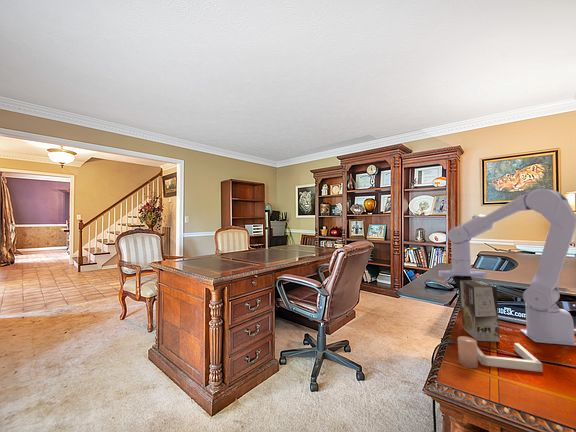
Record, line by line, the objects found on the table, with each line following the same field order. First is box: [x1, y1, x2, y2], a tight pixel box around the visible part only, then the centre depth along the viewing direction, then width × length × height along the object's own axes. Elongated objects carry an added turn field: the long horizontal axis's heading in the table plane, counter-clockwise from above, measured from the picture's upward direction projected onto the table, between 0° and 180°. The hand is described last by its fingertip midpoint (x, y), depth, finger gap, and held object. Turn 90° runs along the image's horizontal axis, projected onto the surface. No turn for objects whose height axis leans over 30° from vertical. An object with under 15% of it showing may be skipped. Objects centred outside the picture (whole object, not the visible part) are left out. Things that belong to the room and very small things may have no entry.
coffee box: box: [460, 279, 500, 343], centre depth 80 cm, size 9×6×16 cm
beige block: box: [457, 335, 479, 369], centre depth 65 cm, size 4×4×6 cm
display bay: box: [477, 342, 543, 373], centre depth 67 cm, size 12×10×2 cm
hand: (462, 296), depth 94 cm, fingers closed
